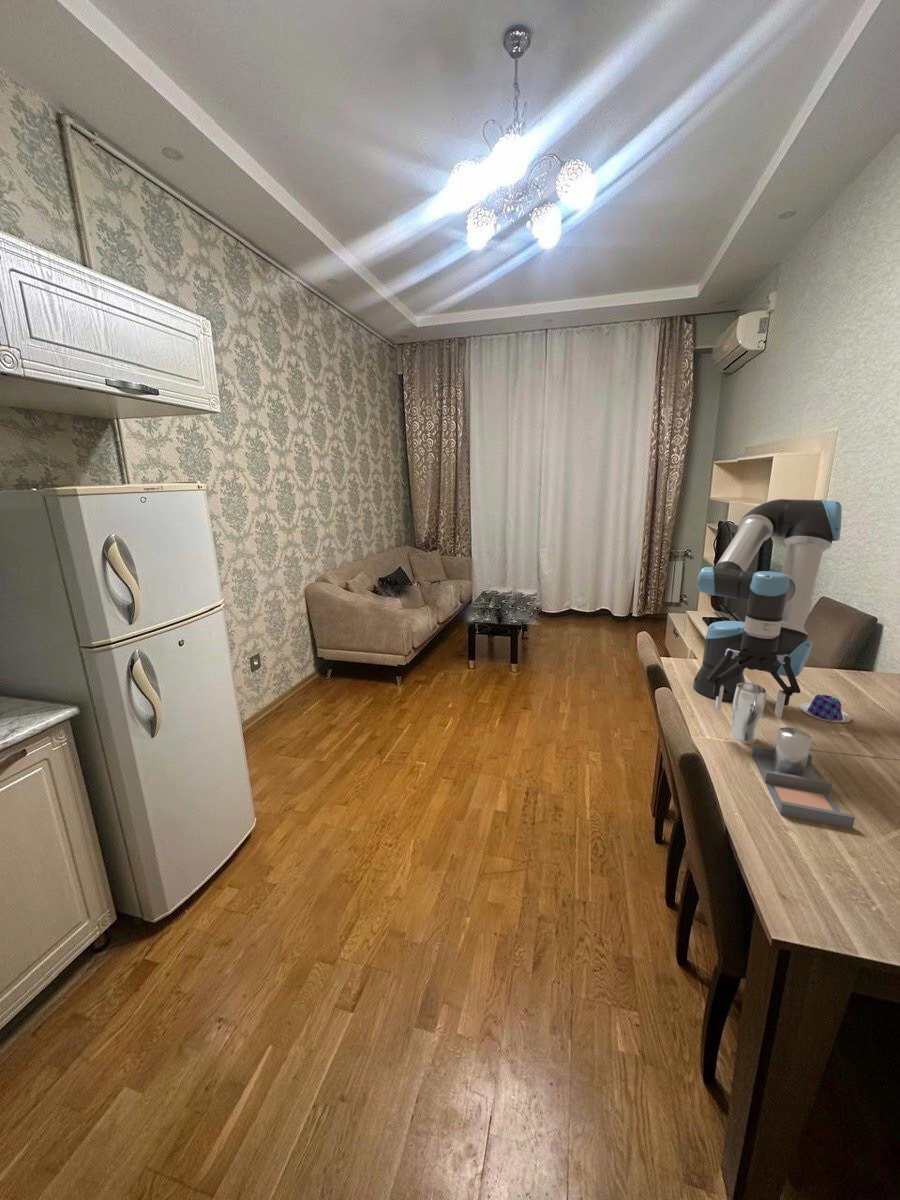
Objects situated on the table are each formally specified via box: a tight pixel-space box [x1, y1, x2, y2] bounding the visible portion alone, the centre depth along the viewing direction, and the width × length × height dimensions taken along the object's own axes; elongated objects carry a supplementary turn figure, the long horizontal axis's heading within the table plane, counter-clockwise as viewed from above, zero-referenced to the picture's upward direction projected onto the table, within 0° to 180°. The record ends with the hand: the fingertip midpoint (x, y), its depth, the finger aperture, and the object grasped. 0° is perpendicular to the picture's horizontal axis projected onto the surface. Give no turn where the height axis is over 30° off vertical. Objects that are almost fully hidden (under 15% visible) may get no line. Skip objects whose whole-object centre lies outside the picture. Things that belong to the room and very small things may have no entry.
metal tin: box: [772, 726, 813, 777], centre depth 107 cm, size 6×6×10 cm
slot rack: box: [750, 744, 856, 830], centre depth 103 cm, size 23×12×3 cm, turn 161°
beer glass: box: [729, 682, 768, 744], centre depth 121 cm, size 7×7×15 cm
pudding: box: [799, 694, 852, 723], centre depth 137 cm, size 12×12×5 cm
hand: (747, 711), depth 121 cm, fingers open, 13 cm apart
